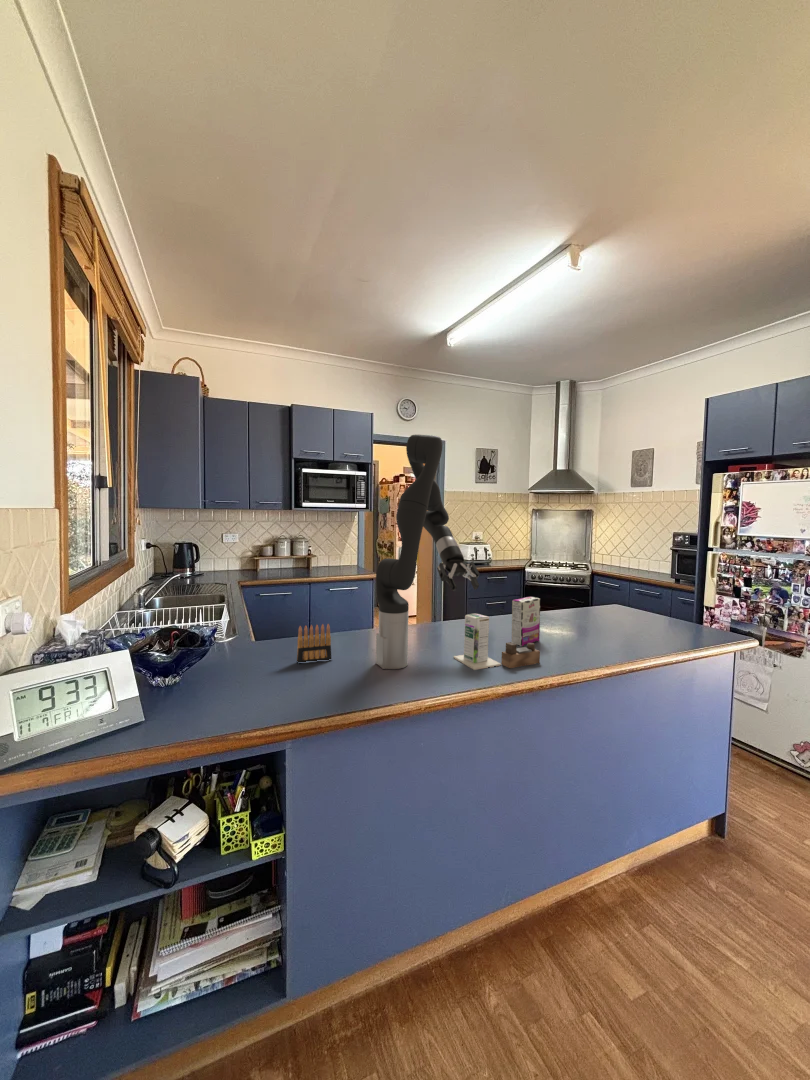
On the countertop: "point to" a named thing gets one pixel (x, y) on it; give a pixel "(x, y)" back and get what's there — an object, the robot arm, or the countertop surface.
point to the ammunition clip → (314, 644)
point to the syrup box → (476, 638)
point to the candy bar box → (525, 620)
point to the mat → (476, 666)
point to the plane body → (520, 655)
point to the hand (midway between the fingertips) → (466, 589)
